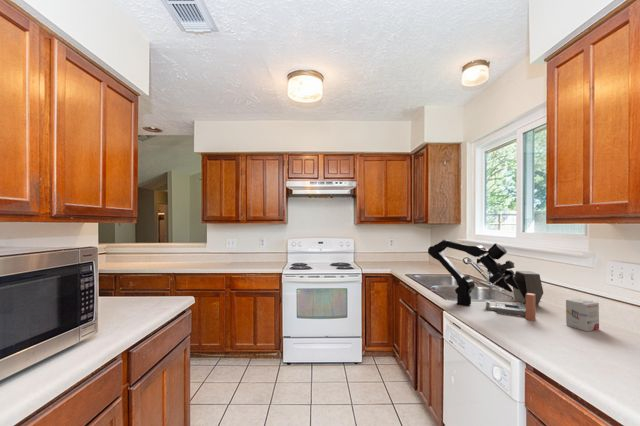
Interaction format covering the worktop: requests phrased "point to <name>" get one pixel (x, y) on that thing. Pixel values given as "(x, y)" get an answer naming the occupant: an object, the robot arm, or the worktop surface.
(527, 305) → the wedge pin
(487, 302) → the bracket
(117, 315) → the worktop surface
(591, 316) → the ink box
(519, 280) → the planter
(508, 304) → the grey square frame
